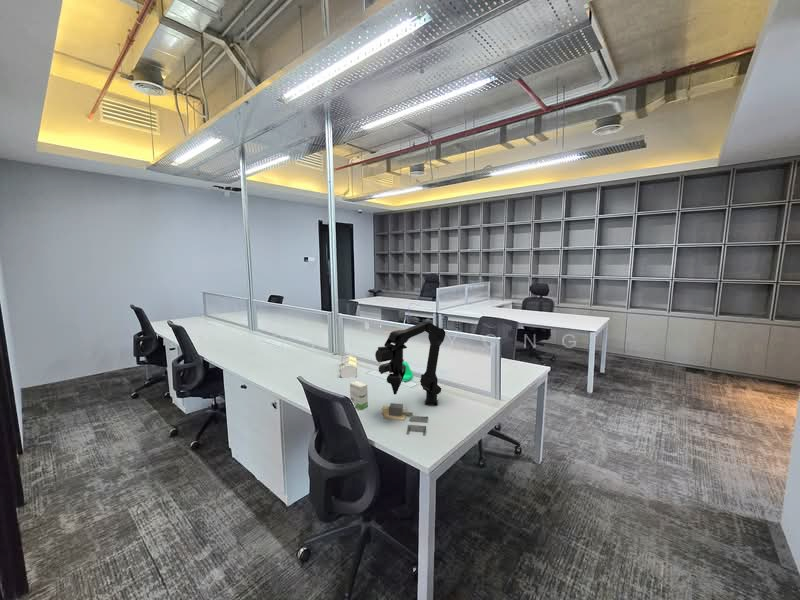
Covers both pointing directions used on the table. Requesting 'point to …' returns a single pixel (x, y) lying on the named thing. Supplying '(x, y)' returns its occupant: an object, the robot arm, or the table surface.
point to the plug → (395, 410)
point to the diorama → (348, 367)
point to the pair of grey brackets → (417, 427)
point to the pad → (395, 416)
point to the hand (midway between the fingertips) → (396, 390)
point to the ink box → (359, 394)
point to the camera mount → (407, 372)
